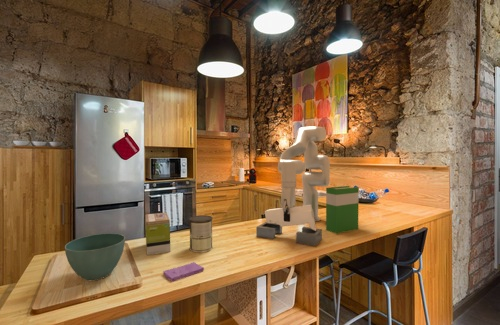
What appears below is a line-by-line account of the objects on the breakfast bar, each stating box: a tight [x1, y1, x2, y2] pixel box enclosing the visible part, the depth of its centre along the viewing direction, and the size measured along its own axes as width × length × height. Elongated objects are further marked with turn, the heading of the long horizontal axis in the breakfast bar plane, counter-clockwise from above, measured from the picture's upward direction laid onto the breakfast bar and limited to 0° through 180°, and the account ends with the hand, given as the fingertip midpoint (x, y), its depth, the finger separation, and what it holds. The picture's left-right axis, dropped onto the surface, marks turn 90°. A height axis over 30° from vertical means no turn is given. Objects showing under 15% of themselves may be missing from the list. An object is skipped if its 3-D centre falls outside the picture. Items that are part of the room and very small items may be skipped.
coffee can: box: [189, 214, 213, 254], centre depth 117 cm, size 10×10×14 cm
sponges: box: [162, 261, 205, 282], centre depth 93 cm, size 7×13×2 cm, turn 131°
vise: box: [255, 221, 323, 247], centre depth 132 cm, size 12×31×5 cm, turn 62°
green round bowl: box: [64, 232, 126, 281], centre depth 91 cm, size 18×18×12 cm
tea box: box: [144, 212, 171, 256], centre depth 117 cm, size 15×10×15 cm, turn 23°
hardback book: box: [325, 185, 360, 235], centre depth 146 cm, size 18×7×24 cm, turn 119°
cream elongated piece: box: [264, 205, 317, 231], centre depth 132 cm, size 6×25×13 cm, turn 62°
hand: (288, 219), depth 132 cm, fingers closed on cream elongated piece, 5 cm apart
